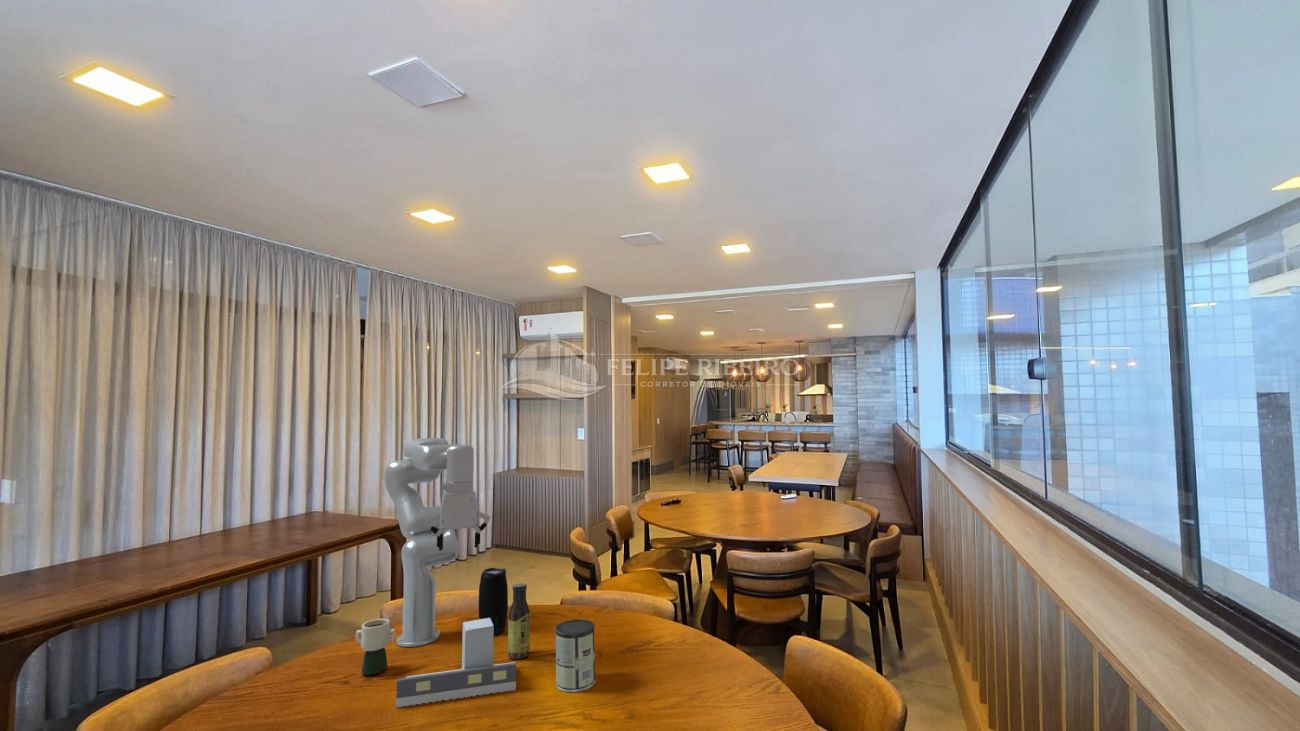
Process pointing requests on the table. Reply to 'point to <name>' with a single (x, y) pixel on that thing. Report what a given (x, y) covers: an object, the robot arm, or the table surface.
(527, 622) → the sauce bottle
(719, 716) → the table surface
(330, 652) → the table surface
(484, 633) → the supplement box
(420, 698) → the shelf board
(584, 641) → the coffee can
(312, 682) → the table surface
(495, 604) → the portable speaker
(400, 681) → the rail
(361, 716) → the table surface
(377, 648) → the character mug
